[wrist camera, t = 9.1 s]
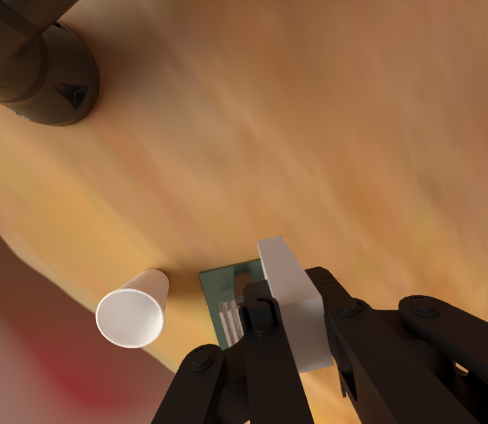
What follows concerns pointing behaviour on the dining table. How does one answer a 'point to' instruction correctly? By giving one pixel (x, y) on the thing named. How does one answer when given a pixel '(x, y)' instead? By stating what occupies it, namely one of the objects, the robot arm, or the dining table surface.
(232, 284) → the green circuit board
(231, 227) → the dining table surface
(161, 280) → the cup
